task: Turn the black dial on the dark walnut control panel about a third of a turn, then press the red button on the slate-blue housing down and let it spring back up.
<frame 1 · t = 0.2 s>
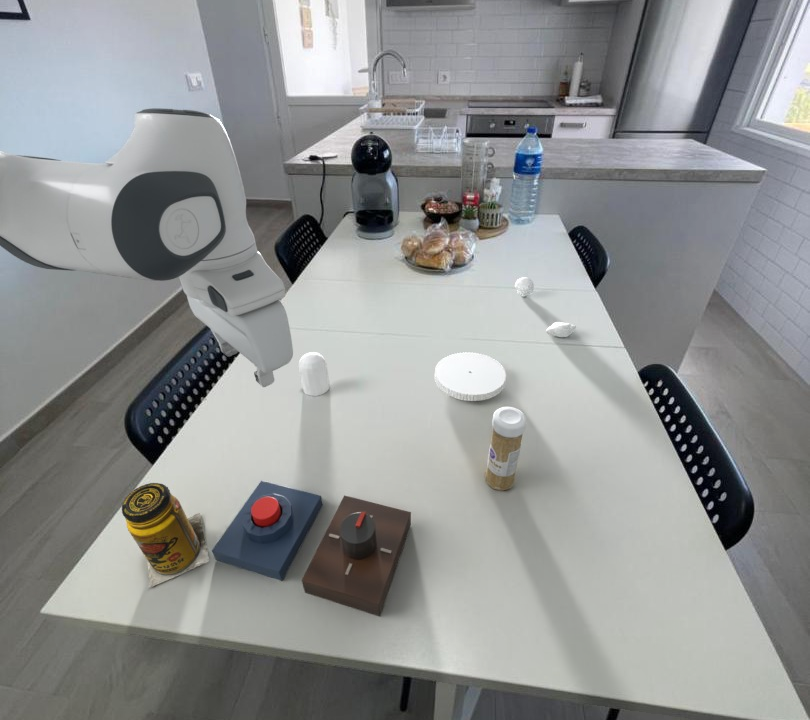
hand: (247, 367, 59), 21 cm above the table, tool pointing down, fingers open, 8 cm apart
capsule: (316, 388, 89), on the table
dial: (358, 535, 57), point 5 cm above the table, hinge at 0.0°
plastic lid: (469, 382, 90), on the table
sprinkles bottle: (499, 481, 70), on the table
dumpling: (560, 336, 103), on the table
condiment: (177, 549, 61), on the table
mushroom: (522, 295, 120), on the table
start button: (266, 511, 60), point 4 cm above the table, slide at 0.1 cm
button housing: (272, 531, 63), on the table
dial panel: (361, 556, 60), on the table
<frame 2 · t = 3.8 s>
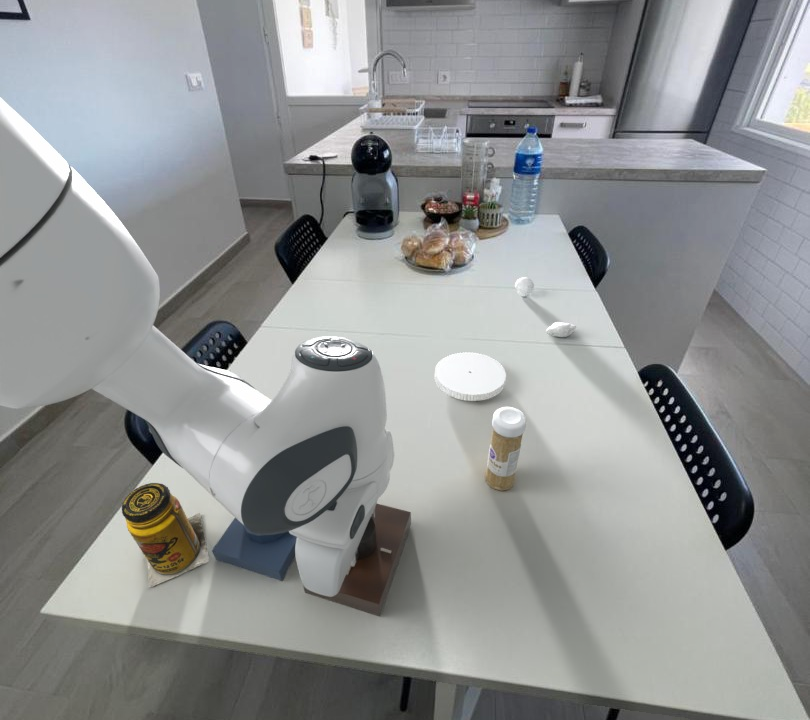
hand: (359, 540, 57), 4 cm above the table, tool pointing down, fingers closed on dial, 4 cm apart
dial: (358, 535, 57), point 5 cm above the table, hinge at -0.1°, touching gripper
everything else where it was.
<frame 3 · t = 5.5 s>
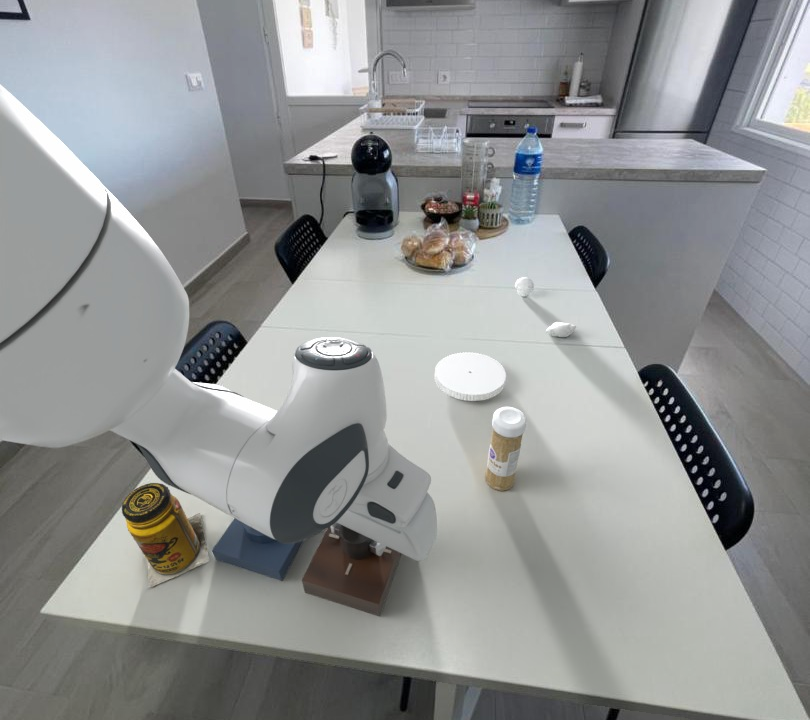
hand: (359, 540, 57), 4 cm above the table, tool pointing down, fingers closed on dial, 4 cm apart
dial: (358, 535, 57), point 5 cm above the table, hinge at 78.8°, touching gripper
everything else where it was.
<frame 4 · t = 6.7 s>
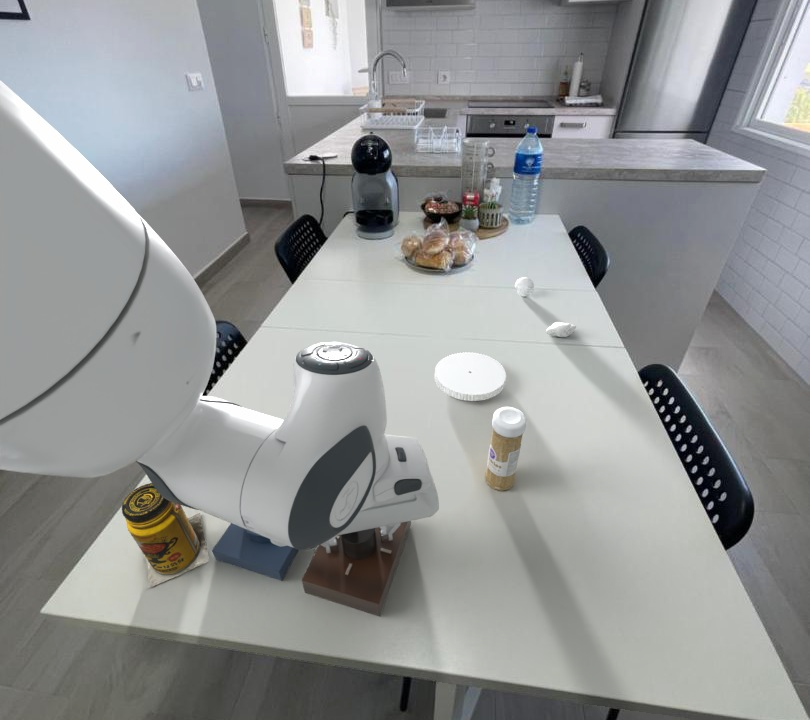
hand: (359, 542, 58), 3 cm above the table, tool pointing down, fingers open, 6 cm apart
dial: (358, 535, 57), point 5 cm above the table, hinge at 117.1°
everything else where it was.
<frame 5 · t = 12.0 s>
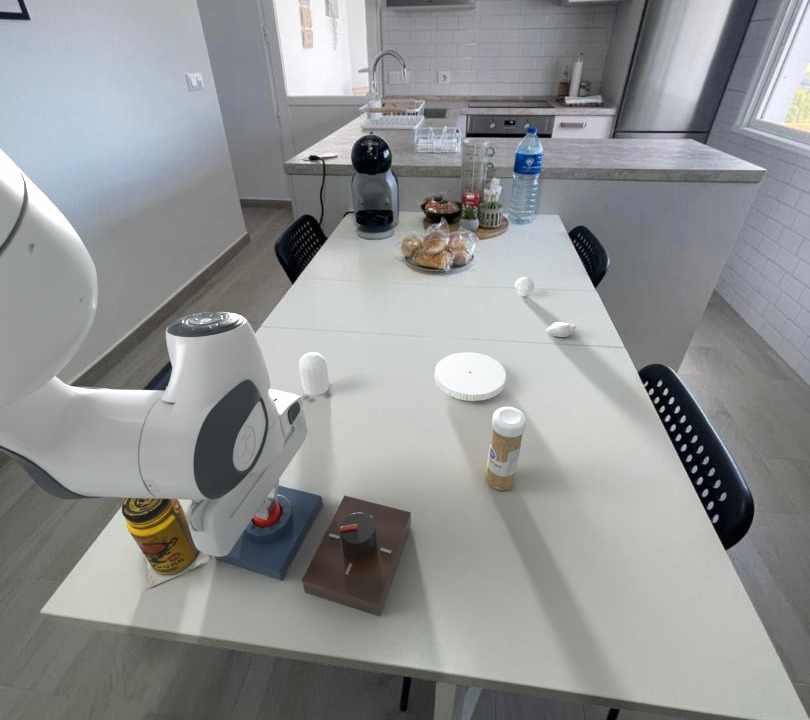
hand: (267, 510, 60), 5 cm above the table, tool pointing down, fingers closed, pressing on start button
start button: (266, 514, 61), point 4 cm above the table, slide at -0.5 cm, touching gripper
everything else where it was.
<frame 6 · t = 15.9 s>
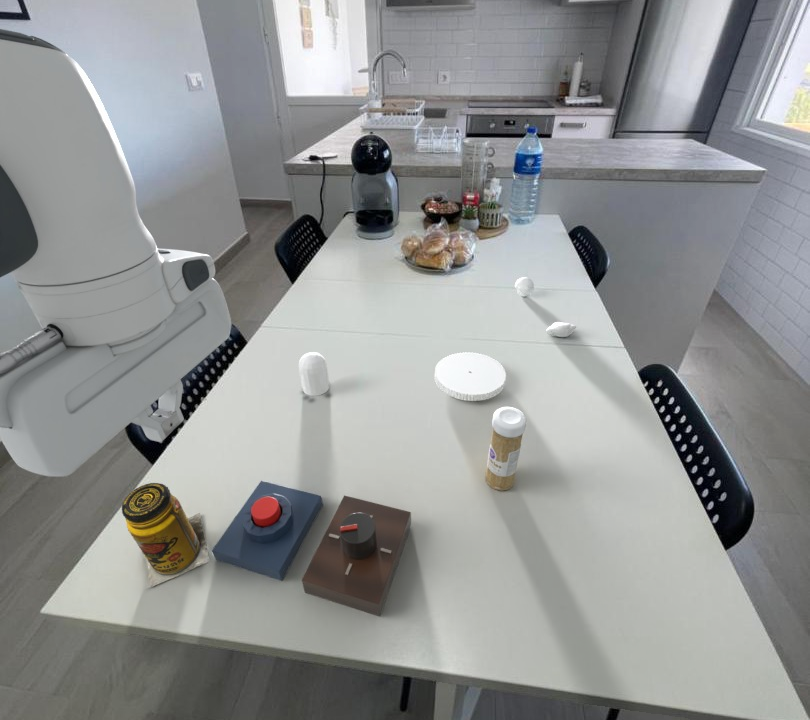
hand: (166, 430, 41), 27 cm above the table, tool pointing down, fingers closed
start button: (266, 511, 60), point 4 cm above the table, slide at 0.1 cm
everything else where it was.
at the end: dial at +117° (first picture: +0°); start button pushed in 1.1 cm at the most during the clip, back to where it started at the end; start button slide at 0.1 cm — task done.
